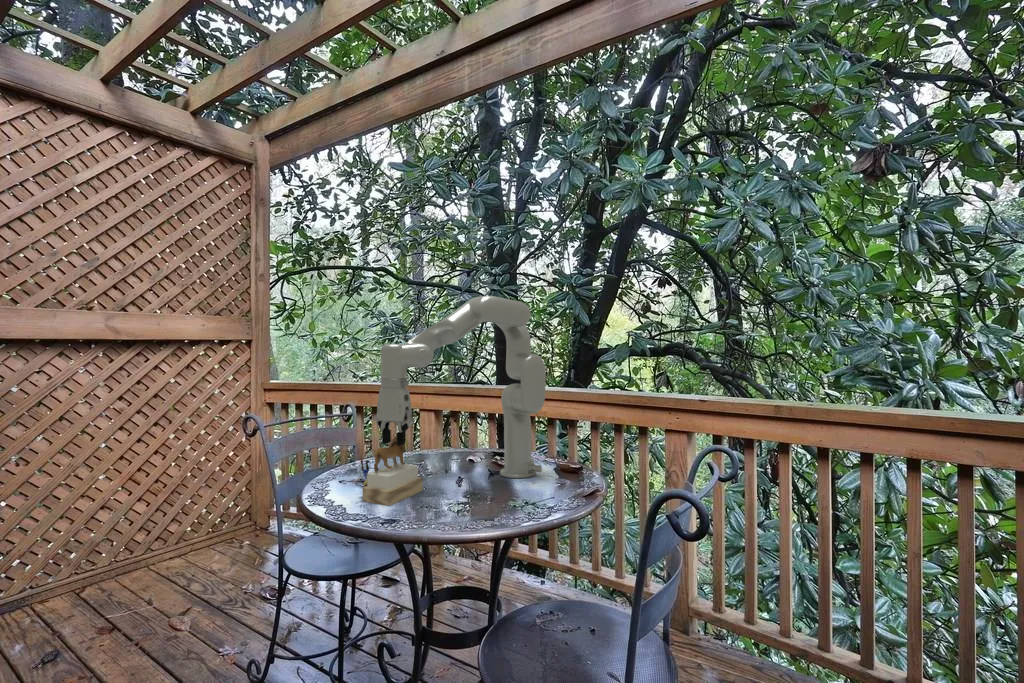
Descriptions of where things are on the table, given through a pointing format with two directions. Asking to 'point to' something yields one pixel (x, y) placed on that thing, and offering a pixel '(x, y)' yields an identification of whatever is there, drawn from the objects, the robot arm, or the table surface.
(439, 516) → the table surface
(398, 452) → the lion figurine
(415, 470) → the cream brick
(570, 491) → the table surface
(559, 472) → the table surface
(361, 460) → the figurine
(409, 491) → the oak base brick
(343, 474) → the table surface
